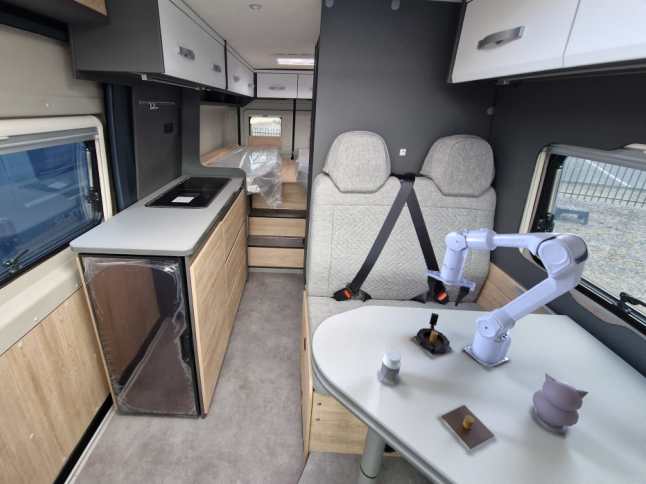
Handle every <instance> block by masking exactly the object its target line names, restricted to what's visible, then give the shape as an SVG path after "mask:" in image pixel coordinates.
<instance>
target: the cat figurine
mask: <svg viewBox="0 0 646 484" xmlns="http://www.w3.org/2000/svg"><path fill="white" fill-rule="evenodd" d="M544 377H545V378H544V382H543V384H542V386H541V389H539V390H537V391H535V392H534V393H533V395H532V403H533V406H534V409H533V411H534V414H535V416H536V417H537V418H538V420H539V421H540V422H541V423H542V424H543V425H546V426H547V427H549V428H550V429H553V430H555V431H559V434H560V435H563V434H564V433H566V430H567V428H568V427H572V426H574V425H576V424H577V423H578V422H579V418H580V415H579V411H578V410H580V409H581V408H582V406H583V403H584V400H583V399H584V398H585V397H586V396H587V395H588V394H589V391H587V390H583V389H579V388H576V387H575V386H573V385H572V384H571V383H570V382H568V381H564V380H562V379H558V378H554V377H552V376H551V375H549V374H548V373H547V372H545V373H544Z"/></svg>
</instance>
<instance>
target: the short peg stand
mask: <svg viewBox="0 0 646 484" xmlns="http://www.w3.org/2000/svg"><path fill="white" fill-rule="evenodd" d="M440 417H441V418H442V419H443V420H444V422H445V423H446V424H447V425H448V426H449V427H450V428H451V430H452V431H453V432H454V433H455V434H456V435H457V436H458V437H459V438H460V440H462V442H463V443H464V444H465V445H466V446H467V448H468V449H469V450H472V449H474V448H475V447H477V446H479V445H481V444H483V443H484V442H486V441H488V440H490V439H491V438H493V437H495V436H496V435H495V434H494V433H493V432H492V431H491V430H490V429H489V428H488V427H487V426H486V425H485V424H484V423H483V422H482V420H480V419H479V418H478V417H477V416H476V415H475V414H474V413H473V412H472V411H471V410H470V409H469V408H468V407H467V406H466V405H465V404H464V405H461V406H459V407H457V408H455V409H453V410H451V411H449V412H447V413H445V414H442V415H441V416H440Z"/></svg>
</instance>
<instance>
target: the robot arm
mask: <svg viewBox="0 0 646 484" xmlns="http://www.w3.org/2000/svg"><path fill="white" fill-rule="evenodd" d="M560 234H561V232H523V233H522V232H521V233H498V232H496V231H495V230H493V229H488V227H481V228H479V229H472V230H471V229H470V228H465V229H458V230H455V231H452V232H449V233H448V234H446V236H445V239H444V241H445V245H446V246H447V247H446V250H445V254H444V258H443V262H442V265H441V269H440V271H439V270H438V271H436V270H431V269H430V270H429V269H425V272H424V275H423V276H424V278H427V279H426V283H427V286H428V290H429V291H428V292H429V299H433V297H434V296H433V295H434V289H435V285H436V281H441V282H442V283H444V284H445V285H447V286H458V287H459V289H458V292H457V296H456V299H455V302H454V307H455V308H456V307H458V305H459V303H460V302H461V301H462V300H463V299H464V298H465V297H467V296H468V295H469V294H470V291H472V292H474V291H475V287H476V283H475V282H473V281H470V280H468V279H465V278H463V277H462V274H463V273H462V272H463V270H464V265H465V261H466V258H467V255H468V251H469V250H474V251H494V250H495V249H496V248H498V247H504V248H505V247H506V248H507V247H508V248H523V249H528V251H530V253H531V254H532V255H533V256H539V259H540V261H541V263H542V264H543V266H544V268H545V270H546V272H547V276H548V277H547V278H545V279H544V280H542V281H541V282H539V283H538V284H535V285H534V286H533V287H532V288H530V289H528V290H527V291H526V292H524V293H522V294H520V295H519V296H517V297H516V298H514V299H513V300H512V301H510V302H508V303H507V304H506V305H504V306H502V307H496V308H494V309H492V311H489V312H488V313H486V314H484V315H482V316H479V317H478V318H477V319H476V320H475V327H476V329H477V330H476V333H475V335H474V339H473V342H472V344H471V345H469V346H467V347H464V349H463V351H465V352H466V353H467V354H468V355H470V356H471V357H472V358H473V359H474V360H475V361H477V362H478V363H479V364H482V365H484V366H485V365H486V366H488V367H491V368H492V367H493V368H494V367H496V366H499V365H500V364H503V363H505V362H507V361H509V358H508V357H507V355H508V354H507V353H508V352H509V349H510V346H511V343H512V337H511V334H510V333H509V332H508V331H509V330H511V329H513V328H514V327H515V325H516V323H517V322H518V321H519V320H522V319H523V318H525V317H526V316H528V315H529V314H531V313H533V312H534V311H536V310H538V309H540V308H542V307H543V306H546V304H548V303H550V302H552V301H554V300H556V299H557V298H559V297H560V296H562V295H564V294H566V293H567V292H569V291H571V290H572V289H575V288H576V287H577V286H578V285H579V284H580V283H581V280H582V279H581V278H582V276H583V274H584V273H583V272H584V270H585V267H586V264H587V262H588V260H589V258H590V252H589V246H588V243H587V242H586V240H585V239H584V238H583V237H581V236H580V235H578V234H574V233H563V234H561V235H560ZM558 235H559V236H558Z"/></svg>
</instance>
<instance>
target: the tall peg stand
mask: <svg viewBox="0 0 646 484" xmlns="http://www.w3.org/2000/svg"><path fill="white" fill-rule="evenodd" d="M437 335H438V333H437V332H436V331H432V332H431V336H428V335H424V339H425V341H426V342H428V343H430V344H432V345H440V346H441V345H442V343H441V341H440V340H439V339H437ZM411 340H412V341H413V342H414V343H415V344H416V345H417V346H420V345H419V343H418V341H417V339H416V335H415V336H412V339H411ZM426 351H427V352H428V353H429V354H430V355H431V356H434V355H437V354H438V353H433V351H432V353H431V352H429V351H428V350H426ZM451 351H452V347H451V346H450V345H449V348H448V350H447V351H446V352H445V353H444V354H447V353H450V352H451Z"/></svg>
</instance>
